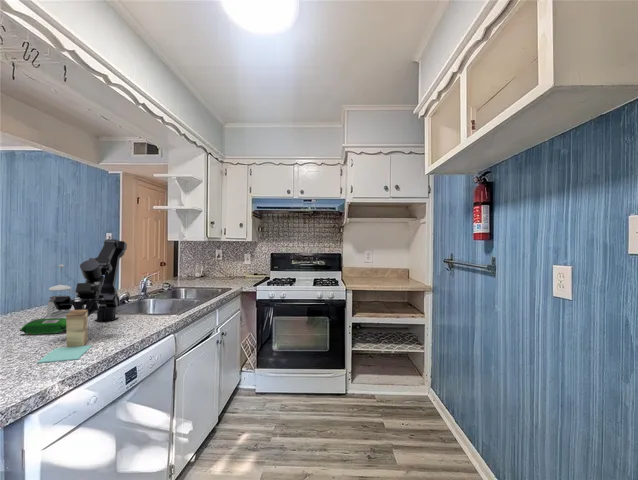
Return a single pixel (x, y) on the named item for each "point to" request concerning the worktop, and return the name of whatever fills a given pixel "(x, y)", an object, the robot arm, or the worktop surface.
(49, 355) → the rubber mat
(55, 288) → the french press
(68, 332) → the maple block
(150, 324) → the worktop surface
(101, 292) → the robot arm
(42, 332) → the snack package
